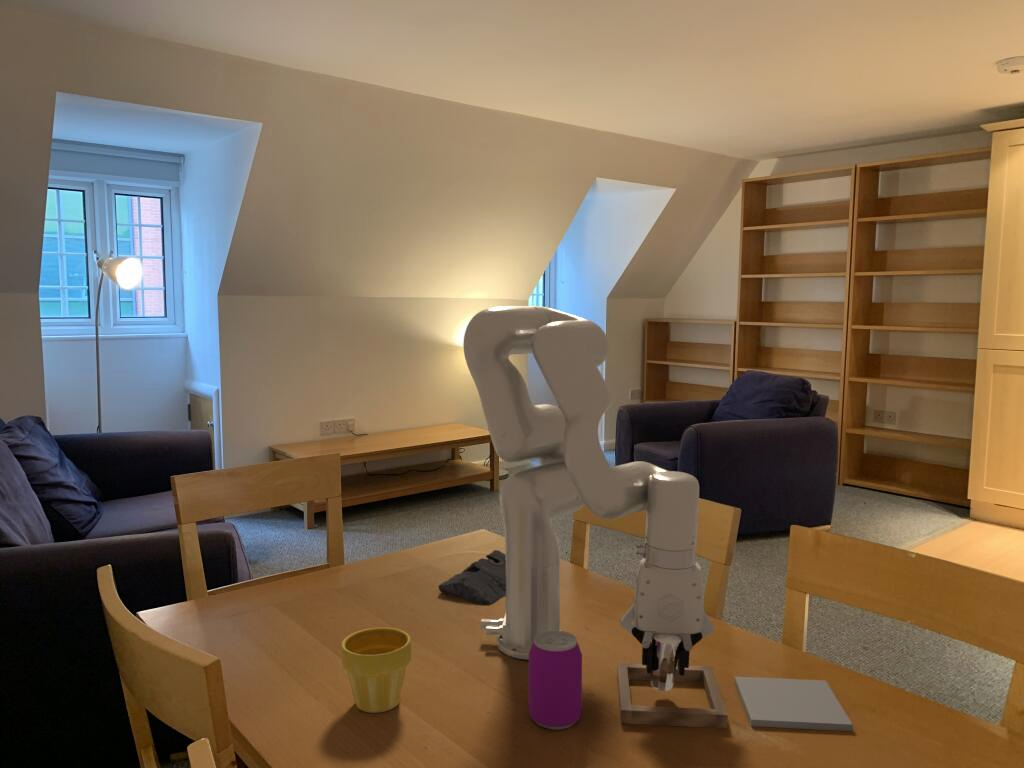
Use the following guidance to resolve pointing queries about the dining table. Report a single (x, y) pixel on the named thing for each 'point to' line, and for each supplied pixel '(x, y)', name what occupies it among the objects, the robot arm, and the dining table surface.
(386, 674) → the plant pot
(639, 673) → the walnut collar
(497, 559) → the dark slate chunk
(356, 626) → the dining table surface
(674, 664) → the milkshake
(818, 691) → the slate pad
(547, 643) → the beverage can
